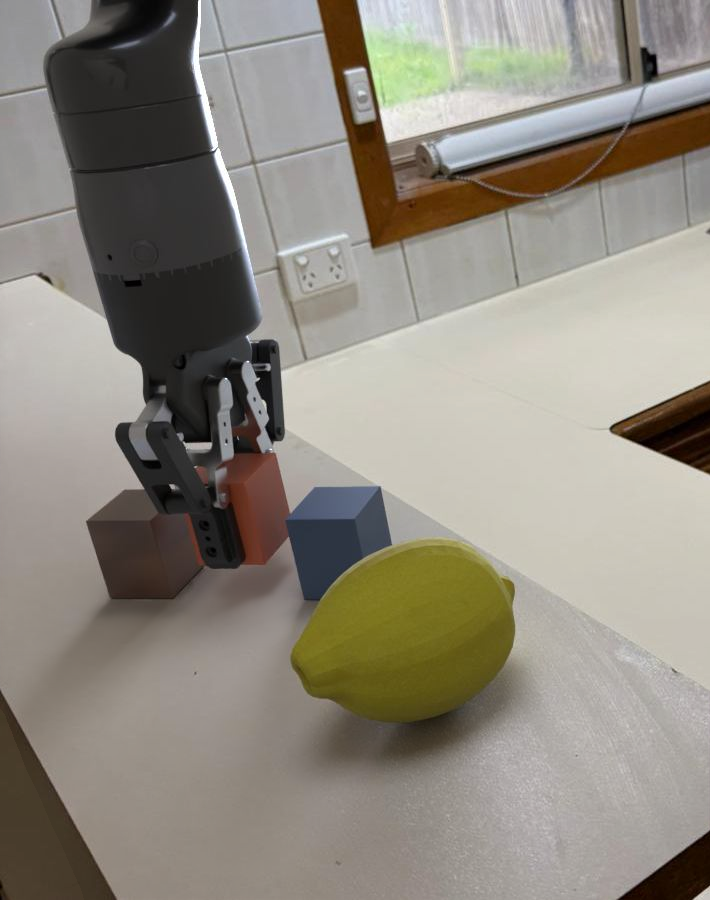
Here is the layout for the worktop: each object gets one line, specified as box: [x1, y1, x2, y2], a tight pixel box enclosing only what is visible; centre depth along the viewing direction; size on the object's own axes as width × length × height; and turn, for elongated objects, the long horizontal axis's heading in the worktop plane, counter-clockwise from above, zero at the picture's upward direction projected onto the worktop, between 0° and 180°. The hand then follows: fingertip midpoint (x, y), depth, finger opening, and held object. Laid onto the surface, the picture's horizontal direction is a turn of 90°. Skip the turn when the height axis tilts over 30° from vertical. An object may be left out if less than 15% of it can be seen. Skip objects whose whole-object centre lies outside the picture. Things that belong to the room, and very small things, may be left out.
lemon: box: [289, 536, 516, 724], centre depth 51 cm, size 11×8×8 cm
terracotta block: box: [185, 452, 291, 566], centre depth 64 cm, size 4×4×5 cm
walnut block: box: [85, 488, 205, 599], centre depth 66 cm, size 4×4×5 cm
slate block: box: [285, 485, 393, 601], centre depth 63 cm, size 4×4×5 cm
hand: (245, 543), depth 65 cm, fingers closed on terracotta block, 4 cm apart
